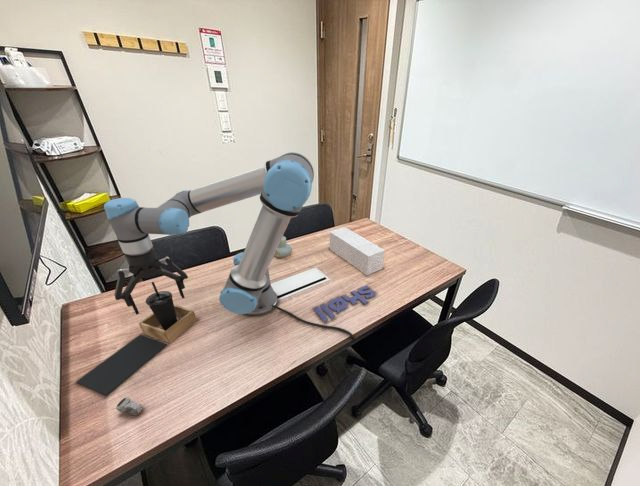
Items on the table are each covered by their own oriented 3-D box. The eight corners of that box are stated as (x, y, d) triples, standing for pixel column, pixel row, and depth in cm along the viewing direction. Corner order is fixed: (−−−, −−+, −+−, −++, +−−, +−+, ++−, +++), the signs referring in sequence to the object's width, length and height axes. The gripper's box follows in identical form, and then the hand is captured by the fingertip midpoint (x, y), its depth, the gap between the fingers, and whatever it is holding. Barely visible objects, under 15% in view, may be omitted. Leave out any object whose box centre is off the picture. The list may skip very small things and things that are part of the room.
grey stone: (126, 405, 78) (119, 394, 75) (148, 407, 78) (141, 396, 75) (116, 417, 75) (108, 406, 72) (138, 420, 75) (131, 409, 72)
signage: (366, 284, 129) (380, 296, 123) (366, 286, 130) (380, 297, 123) (312, 307, 115) (324, 321, 108) (312, 308, 115) (324, 322, 108)
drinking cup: (172, 336, 99) (153, 291, 88) (153, 332, 100) (132, 287, 90) (187, 321, 106) (171, 277, 95) (169, 318, 107) (151, 274, 96)
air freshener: (268, 254, 150) (266, 237, 144) (280, 248, 155) (278, 232, 150) (283, 261, 144) (281, 244, 139) (294, 255, 150) (293, 238, 145)
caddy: (197, 320, 106) (193, 310, 104) (170, 343, 97) (165, 332, 94) (172, 312, 109) (168, 302, 107) (143, 333, 100) (138, 323, 97)
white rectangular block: (329, 249, 158) (329, 231, 152) (344, 244, 164) (345, 227, 158) (366, 275, 137) (368, 256, 132) (382, 268, 143) (384, 250, 137)
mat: (167, 345, 96) (167, 344, 96) (106, 396, 80) (105, 394, 79) (140, 335, 99) (140, 334, 98) (77, 382, 83) (75, 381, 82)
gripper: (180, 235, 95) (196, 285, 107) (84, 256, 81) (114, 312, 92) (187, 243, 91) (202, 295, 102) (86, 268, 76) (117, 325, 88)
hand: (160, 303), depth 97 cm, fingers open, 13 cm apart
